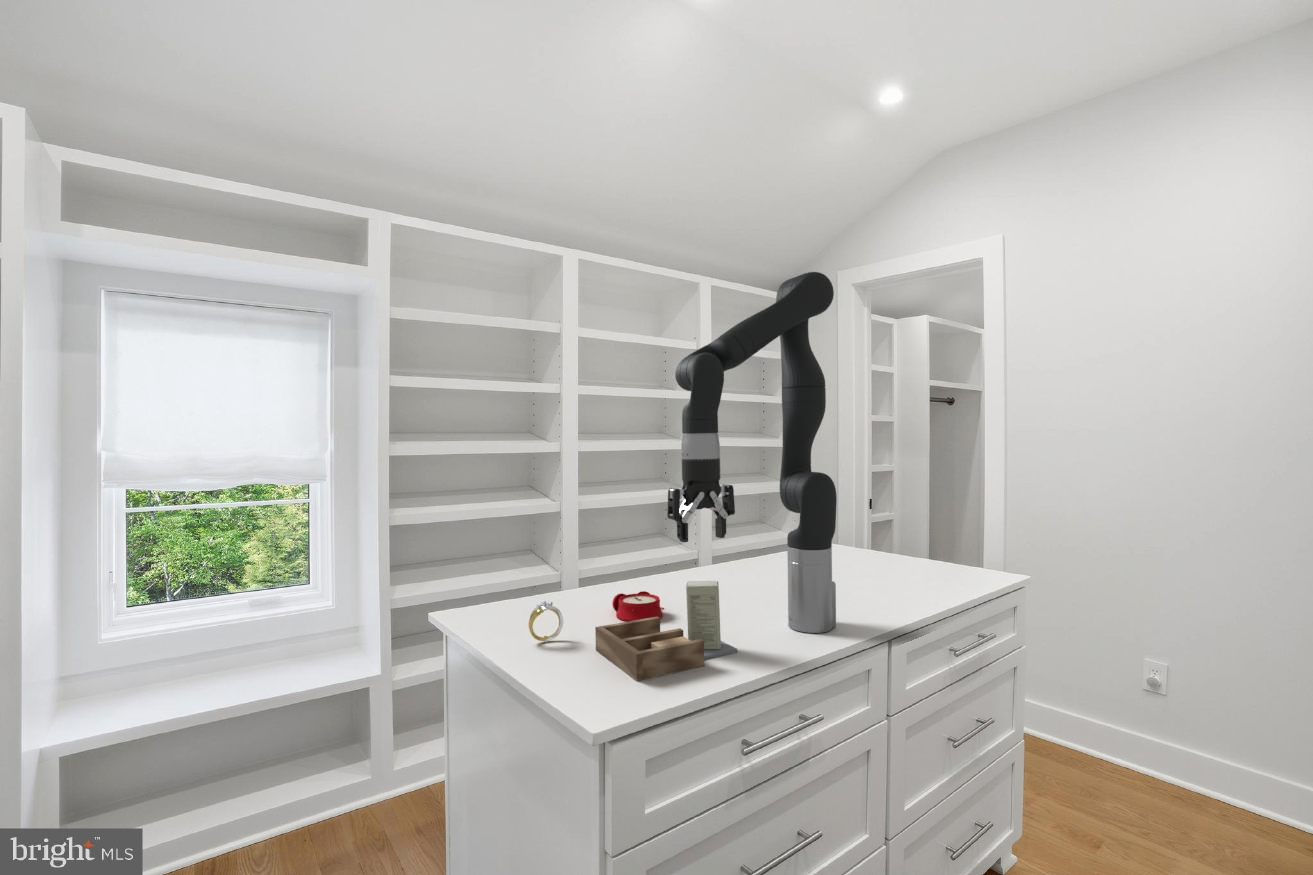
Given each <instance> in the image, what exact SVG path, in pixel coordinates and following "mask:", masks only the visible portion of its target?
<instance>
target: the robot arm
mask: <svg viewBox="0 0 1313 875" xmlns="http://www.w3.org/2000/svg"><path fill="white" fill-rule="evenodd" d="M834 291H835V290H834V286H833V283H832V281H831V279H830V278H829V277H828V276H827V275H825V274H824V273H823V272H822V273H821V272H818V271H810V272H809V271H808V272H804V273H802V274H799V275H797V276H794V277H791V278H788V279H787V280H785V281H784V282H782V283H781V284H780V285H779V287H778V289H777V292H776V296H775V297H776V298H775V303H772V304H771V305H770V306H768V307H766V308H764V309H762V310H761V311H759V312H756V313H755V314H753V315H751V316H749V317H747V318H746V319H744V320H742V321H740V322H738V323H737V324H735V325H734V326H732V327H731V328H729V329H728V330H726V331H725V332H724V333H722V334H721V335H720V336H718V337H717V338H716V339H715V340H713V341H711V342H710V343H708V344H706V345H704V346H702V347H700V348H698V349H696V350H694V351H693V352H692V353H689V354H688V355H687V356H685V357H684V358H683V359H682V360H680V362H678V364H677V365H676V369H675V372H674V374H675V381H676V383H677V384H678V386H679V387H680V388H681V389H682V390H685V391H687V392H690V396H689V401H688V403H687V404H686V405H684V406H683V408H682V413H681V414H682V415H681V424H682V425H681V427H682V428H681V429H682V430H681V432H682V435H681V436H682V438H681V453H680V456H681V480H682V488H677V487H676V488H673V487H669V488H668V489H667V510H666V511H667V514H666V516H667V519H668V520H672V521H675V522H676V537H677V539H678V540H679V542H681V543H688V542H689V523H688V521H689V519H690V517H691V515H692V514H694V513H695V511H696V510H702V509H710V510H711V511H712V513H713V514H714V515H715V517H716V518H714V519H715V520H714V522H715V530H714V531H715V532H714V533H715V537H716V538H719V539H724V538H725V537H726V536H725V535H726V534H727V518H729V516H733V515H735V514H736V507H735V504H736V503H735V491H734V486H733V485H732V484H727V483H725V484H720V480H721V445H720V444H721V443H720V436H719V417H718V416H719V415H718V413H719V407H720V403H721V399H722V394H723V388H724V384H725V372H726V371H728V370H732V369H734V368H736V367H738V366H740V365H742V364H744V362H746V361H747V360H749V359H750V358H751V357H752V356H754V355H755V354H757V353H758V352H759V351H761V350H762V349H763V348H765V347H766V346H767V345H768V344H770V343H771V342H773V341H775V340H777V338H779V339H780V340H779V341H780V359H781V360H780V361H781V365H780V366H781V409H782V410H781V412H782V449H781V450H782V452H781V454H782V455H781V465H780V466H781V467H780V477H779V497H780V501H781V503H782V505H783V506H784V507H785V509H786V510H788V511H789V512H792V513H796V514H799V524H798V526H797V527H796V529H794V530H791V531H789V532H788V533H787V545H786V546H787V552H786V553H787V615H788V616H787V618H788V622H787V623H788V624H787V626H788V627H789V628H790V629H792V630H795V631H797V632H802V633H810V634H821V633H826V632H830V631H832V630H833V628H836V627H837V596H836V595H837V594H836V593H837V592H836V591H837V590H836V588H837V587H836V585H837V584H836V582H835V581H833V546H832V544H833V542H832V541H833V538H834V536H835V532H836V525H837V524H836V522H837V503H838V502H837V501H838V499H837V490H836V489H837V488H836V486H835V485H836V484H835V482H834V481H833V479H832V478H831V477H830V476H829V475H828V474H826V473H824V472H818V471H812V449H813V443H814V440H815V438H816V435H817V434H818V431H819V429H820V426H821V425H822V422H823V420H824V417H825V413H826V402H827V399H826V398H827V397H826V391H827V390H826V389H827V388H826V379H825V378H826V377H825V375H824V373H823V370H822V367H821V366H820V364H819V362H818V360H817V358H816V356H815V354H814V351H813V350H812V347H811V343H810V338H809V320H810V319H811V318H813V317H817V316H819V315H821V314H823V313H824V312H826V311H827V310H828V309H829V307H830V306H831V305H832V302H833V300H834V296H835V295H834V294H835V292H834ZM719 496H721V500H720V499H719ZM682 498H684V500H683V501H682V503H681V499H682ZM721 501H722V502H721ZM680 503H681V505H680Z"/></svg>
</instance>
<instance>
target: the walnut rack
mask: <svg viewBox="0 0 1313 875" xmlns="http://www.w3.org/2000/svg"><path fill="white" fill-rule="evenodd" d="M682 636H683V637H684V629H682V628H675V629H670V630H663V631H661V618H659V617H652V618H646V619H640V620H634V621H622V622H618V623H617V622H616V623H612V624H611V623H610V624H607V625H599V626H595V651H596V652H597V653H599V654H600V655H601V656H603V657H604V658H605V659H607V660H608V661H609V662H610V663H612V664H613V665H615V667H617V668H618V669H620V670H621V671H622V672H623V673H625V674H626V675H628V676H629V677H630V678H631V679H633V680H635V681H636V682H641V681H643V680H648V679H652V678H656V677H661V676H664V675H669V674H674V673H679V672H683V671H688V670H691V669H695V668H701V667H705V659H704V640H702V639H697V640H692V641H687V642H682V643H677V644H672V645H667V646H662V647H657V648H652V649H651V643H652V642H657V641H662V640H667V639H672V638H677V637H682Z"/></svg>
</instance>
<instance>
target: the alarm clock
mask: <svg viewBox="0 0 1313 875" xmlns="http://www.w3.org/2000/svg"><path fill="white" fill-rule="evenodd" d="M612 608H613V610H614V611H615V612H616V613H615V617H616V618H617V619H618V620H621V621H623V622H628V621H634V620H640V619H646V618H652V617H659V618H660V619H661V618H662V617H663V615H664V614H663V610H664V609H665V608H664V607H661V599H660V597H659V596H658V595H656V594H652V593H650V592H648V591H645V590H644V591H642V590H641V591H639V592H638V593H630V594H629V593H628V594H625V593H618V594H616V595H615V596H614V597H613V599H612Z"/></svg>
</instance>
